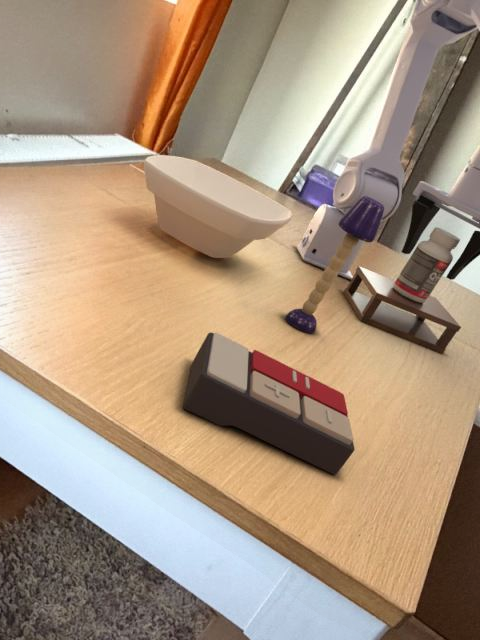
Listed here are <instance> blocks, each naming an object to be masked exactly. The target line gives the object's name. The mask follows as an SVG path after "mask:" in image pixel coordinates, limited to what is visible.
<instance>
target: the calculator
mask: <svg viewBox="0 0 480 640" xmlns="http://www.w3.org/2000/svg"><path fill="white" fill-rule="evenodd" d="M191 362H192V363H191V366H190V371H189V377H188V381H187V385H186V391H185V395H184V401H183V404H182V406H183V408H184V409H185V410H187V411H188V412H191V413H193V414H194V415H197V416H198V417H200V418H203V419H205V420H207V421H209V422H211V423H213V424H215V425H217V426H219V427H226V426H233V427H236V428H238V429H240V430H242V431H244V432H246V433H248V434H250V435H252V436H254V437H256V438H258V439H260V440H262V441H264V442H266V443H268V444H270V445H272V446H274V447H276V448H278V449H280V450H282V451H285V452H287V453H289V454H291V455H293V456H294V457H296V458H298V459H301V460H303V461H305V462H306V463H309V464H311V465H312V466H315V467H317V468H319V469H320V470H322V471H325V472H327V473H329V474H331V475H337V474H338V473H339V471H340V470H341V469H342V468H343V467H344V465H345V464H346V462H347V461H348V460H349V458H350V457H351V456H352V455H353V453H354V452H355V444H354V436H353V431H352V426H351V422H350V418H349V416H348V412H349V411H348V407H347V402H346V398H345V395H344V393H343V392H340V391H339V390H337V389H334V388H333V387H330V386H329V385H327V384H325V383H323V382H321V381H319V380H317V379H315V378H313V377H311V376H309V375H306V374H305V373H304V372H301V371H299V370H297V369H295V368H292V367H291V366H288V365H287V364H285V363H283V362H281V361H279V360H277V359H275V358H273V357H271V356H269V355H267V354H265V353H263V352H261V351H259V350H257V349H253V351H250V350H249V348H248V347H246V346H244V345H243V344H240V343H239V342H237V341H235V340H233V339H230V338H229V337H226V336H225V335H223V334H221V333H218V332H208V333H207V335H206V337H205V338H204V340H203V342H202V344H201V346H200V348H199V350H198V351H197V353H196V355H195V356H194V359H193V360H192V361H191Z"/></svg>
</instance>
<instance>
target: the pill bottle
mask: <svg viewBox="0 0 480 640" xmlns="http://www.w3.org/2000/svg"><path fill="white" fill-rule="evenodd" d="M460 241H461V239H460V237H458V236H456V235H455V234H453V233H451V232H449V231H447V230H445V229H443V228H440V227H437V226H435V227H434V228H433V229H432V231H431V233H430V235H429V239H428V240H422V241H420V242H419V243H417V246H415V248H414V250H413V252H412V254H411V255H410V257H409V259H408V261H406V264H405V265H404V267H403V268H402V270H401V271H400V273H399V274H398V276H397V278H396V279H395V280H394V281H395V283H394V285H393V288H394V289H395V290H396V291H397V292H398V293H399V294H401V295H403V296H404V297H406V298H408V299H410V300H413V301H415V302H418V303H424V302H425V301H426V300H427V298H428V297H429V295H430V296H431V294H432V292H433V291H434V290H435V288H436V286H437V285H438V283H439V282H440V280H441V279H442V277H443V276H444V274H445V272H446V271H447V270H448V268H449V266H450V265H451V263H452V262H453V260H454V256H453V254H452V253H451V252H452V250H455V248H457V246H458V245H459V243H460Z"/></svg>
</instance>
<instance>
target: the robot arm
mask: <svg viewBox="0 0 480 640" xmlns="http://www.w3.org/2000/svg"><path fill="white" fill-rule="evenodd" d="M409 23H410V24H409V25H408V28H407V31H406V33H405V36H404V38H403V40H402V41H403V42H402V44H401V47H400V51H399V53H398V55H397V59H396V61H395V65H394V67H393V71H392V73H391V76H390V79H389V83H388V85H387V87H386V91H385V94H384V97H383V99H382V103H381V106H380V108H379V111H378V114H377V118H376V120H375V123H374V126H373V129H372V131H371V135H370V137H369V140H368V144H367V146H366V149H365V150H364V151H362V152H360V153H357V154H355V155H353V156H351V157H350V158H348V159H346V163H345V166H344V169H343V171H342V172H341V174H340V175H339V176H338V178H337V180H336V182H335V184H334V186H333V194H332V199H333V203H332V205H329V204H326V203H323V204H321V205H320V206H319V207H318V209H317V210H316V211H315V212H314V214H313V217H312V219H311V220H310V222H309V224H308V226H307V228H306V230H305V232H304V234H303V236H302V237H301V239H300V240H299V243H298V244H297V245H296V249H297V251H298V252H299V254H300V256H301V258H302V260H303V262H306V263H308V264H311V265H313V266H317V267H319V268H321V269H323V270H325V269H326V268H327V267H328V266H329V263H330V260H331V259H332V257H333V256H335V255H336V251H337V249H338V247H339V246H340V245H341V244H342V243H343V239H344V237H345V235H346V234H347V232H345V231H344V230H343V229H341V227H340V226H339V221H340V220H341V219H342V218H343V217H344V215H345V214H346V213H347V212H348V211H349V210H350V209H351V208H352V207H353V206H354V205H355V204H356V203H357V202H358V201H359V200H360V199H361V198H362V197H363V196H368V197H370V198H372V199H374V200H376V201H378V202H380V203H381V204H382V205H384V213H383V216H382V219H381V222H380V224H381V223H382V222H384V221H386V220H388V219H390V218H391V217H392V216H393V215H394V214H395V212H396V211H397V209H398V208H399V206H400V203H401V201H402V194H403V193H402V192H403V190H402V189H403V184H404V181H405V178H406V173H405V169H404V167H403V164H402V162H401V155H402V152H403V149H404V147H405V144H406V141H407V138H408V135H409V133H410V130H411V127H412V124H413V121H414V119H415V116H416V114H417V110H418V108H419V105H420V102H421V99H422V96H423V93H424V91H425V88H426V85H427V82H428V79H429V76H430V74H431V71H432V68H433V65H434V62H435V60H436V58H437V54H438V52H439V50H440V49H441V48H442V47H444V46H445V45H450V44H451V45H452V44H454V43H456V42H457V41H459V40H461V39H462V38H464V37H466V36H467V35H469V34H471V33H472V32H474V31H476V30H477V29H478V31H480V0H416V2H415V5H414V8H413V12H412V14H411V17H410V20H409ZM412 195H413V196H414V197H417V199H415V200H413V203H412V205H411V206H412V207H411V217H410V224H409V228H408V232H407V236H406V238H405V241H404V243H403V247H402V249H401V251H400V252H401V254H403V255H410V254H411V253H412V251H414V250H415V248H416V245H418V242H419V240H420V238H421V237H422V234H423V233H424V232H425V230H426V229H427V227H428V226H429V225H430V223H431V222H432V220H433V219H434V218H435V217H436V215H437V214H438V213H439V211H440V210H443V211H445V212H447V213H448V214H449V215H452V216H454V217H456V218H458V219H459V220H462V221H464V222H465V223H467V224H470V225H471V226H473V227H475V228H477V229H479V230H474V231H473V233H472V235H471V236H470V238H469V240H468V242H467V243H466V246H465V248H464V249H463V251H462V253H461V254H460V256H459V258H458V259H457V260H456V262H455V263H454V264H453V266H452V267H451V268H450V270H449V271H448V273H447V275H446V276H445V278H446V279H449V280H455V279H456V278H457V277H458V275H459V274H460V273H461V272H462V271H463V270H464V269H465V268H466V267H468V266H469V264H471V263H472V262H473V261H474V260H475V259H476V258H478V257H480V143H479V144H478V146H477V148H476V149H475V151H474V152H473V154H472V156H471V157H470V158H469V161H468V163H467V164H466V165H465V167H464V168H463V170H462V172H461V173H460V174H459V177H458V178H457V180H456V182H454V185H453V186H452V188H451V190H449V192H447V191H444V190H442V189H440V188H438V187H435V186H433V185H432V184H430V183H428V182H426V181H422V180H419V182H418V184H417V186H416V187H415V189H414V190H413V192H412ZM451 207H452V208H454V209H456V210H458V211H456V210H454V209H452V208H451ZM459 211H460V212H459ZM461 213H464V214H466V215H468V216H470V217H472V218H469V217H467V216H465V215H463V214H461ZM365 244H366V242H365V241H362V240H360V239H359V241H358V243H357V245H356V246H355V247H353V248H352V253H351V255H350V256H349V257H348V258H347V259H346V260H345V264H344V266H343V267H342V269H341V270H339V271H338V276H340V277H342V278H345V279H347V280H350V281H351V280H352V278H353V276H354V275H353V274H352V273H351V271H350V269H351V267H352V266H353V264H354V262H355V260H356V259H357V257H358V255H359V254H360V252H361V250H362V248H363V247H364V245H365Z"/></svg>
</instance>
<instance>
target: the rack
mask: <svg viewBox="0 0 480 640" xmlns="http://www.w3.org/2000/svg"><path fill="white" fill-rule="evenodd" d="M352 276H353V278H352V280H350V282H349V283H348V285H347V286H346V287H345V288H344V290H343V292H342V293H343V295H344V297H345V298H346V299H347V302H348V303H349V304H350V307H351V308H352V310H353V311H354V313H355V315H356V316H357V318H358V320H359V321H360V322H362V323H365V324H367V325H369V326H372V327H373V328H377V329H380V330H382V331H385V332H387V333H389V334H392V335H395V336H396V337H400V338H402V339H405V340H406V341H410V342H413V343H415V344H417V345H419V346H421V347H423V348H427V349H429V350H432V351H434V352H437V353H439V354H444V353H445V352H446V350H447V349H446V348H447V347H448V345H449V344H450V342H451V341H452V340H453V338H454V336H455V335H456V334H457V333H458V332H459V331H460V330H461V328H462V326H461V325H460V324H459V323H458V321H457V320H456V319H455V318H454V317H453V316H452V315H451V313H450V312H449V311H448V310H447V309H446V308H445V306H444V305H442V303H441V302H440V301H439V300H438V299H437V297H435V296H432V295H431V294H430V295H429V297H428V298H427V300H426V301H425V302H424V303H418V302H415V301H413V300H410V299H408V298H406V297H404V296H403V295H401V294H399V293H398V292H397V291H396V290H395V289H394V288H393V285H394V283H395V281H396V280H393V279H391V278H390V277H386V276H384V275H382V274H379V273H377V272H374V271H373V270H369V269H367V268H365V267H362V266H359V265H358V266H357V267H356V270H355V273H354V274H353V275H352ZM362 282H363V283H364V285H365V286H366V288H367V290H368V291H369V292H370V293H371V295H372V296H367V295H365V294H362V293H360V292H357V290H358V288H359V286H360V285H361V283H362ZM426 320H428V321H430V322H433V323H435V324H437V325H440V326H441V327H444V328H445V329H444V330H443V332H442V333H441V335H440V336H439V338H438V337H437V336H436V335H435V333H434V332H433V331H432V330H431V328H430V326H429V325H428V324H427V323H426V322H425V321H426Z"/></svg>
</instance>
